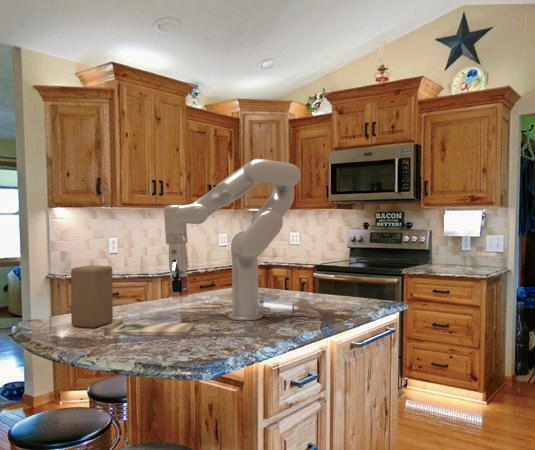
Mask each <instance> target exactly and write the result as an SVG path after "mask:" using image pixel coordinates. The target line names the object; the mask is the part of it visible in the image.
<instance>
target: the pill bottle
mask: <svg viewBox="0 0 535 450" xmlns="http://www.w3.org/2000/svg"><path fill="white" fill-rule="evenodd" d="M176 271H179V270H176ZM178 275H179V274H178ZM188 277H189V276H188V272H186V271H184V272H182V271H181V280H182V292H173V286H172V272H170V275H169V282H170V294H171V295H170V296H171V298H172V299H185V298H188V297H189V296H190V294H189V293H190V292H189V290H190V288H189V278H188Z"/></svg>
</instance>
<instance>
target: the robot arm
mask: <svg viewBox="0 0 535 450" xmlns="http://www.w3.org/2000/svg"><path fill="white" fill-rule="evenodd" d="M301 173H302V172H301V171H300V169H299V167H298V166H297V165H295V164H293V163H290V162H284V161H278V160H272V159H271V160H270V159H264V158H254V159H252V160H250V161H249V162H247V163H246V164H245V165H243V166H241V167H240V168H238V169H237V170H236V171H234V172H233V173H232V174H230V175H229V176H227V177H226V178H225V179H223V180H221V182H219V183H217V185H215V186H214V187H213V188H212V189H210V190H209V191H208V192H206V193H205V194H203V195H202V196H201V197H200V198H198V199H197V200H195V201H194V202H192V203H190V204H169V205H166V206H164V208H163V215H164V216H163V218H164V230H165V231H164V234H165V245H166V246H167V245H168V264H169V265H168V266H169V272H170V273H172V286H173V292H182V280H181V271H182V272H184V271H185V272H186V271H187V270H188V269H189V260H188V259H189V258H188V257H189V256H188V250H187V249H188V248H187V244H188V228H187V225H188V224H190V225H200V224H203V223H205V222H206V221H207V219H208V217H210V216H211V215H213V214H214V213H215V212H217V211H218V210H220V209H222V208H223V207H225V206H227V205H230V204H232V203H234V202H235V201H236V200H238V199H240V198H241V197H242V196H243V195H245V194H246V193H247V192H249V191H251V190H252V189H253V188H254V187H256V186H257V185H259V184H260V183H263V184H267V185H272V193H271V195H270V196H269V197H268V199H267V200H266V201H265V203H264V204H262V206H261V207H260V208H259V209H258V210H257V211H256V212H255V214H253V216H252V217H251V221H250V222H251V224H250V225H249V226H248V227H247V229H245V231H240V232H237V233H236V234H235V235H234V236H233V238H232V240H231V244H230V251H231V253H230V254H231V263H232V264H231V266H232V268H231V269H232V270H231V271H232V273H231V274H232V275H231V276H232V282H231V283H232V287H231V288H232V291H231V292H232V312H230V313H228V315H227V317H228V319H230V320H233V321H240V322H241V321H243V322H244V321H255V320H260V319H262V318H263V313H264V314H271V307H267V306H264V307H263V306H260V305H261V304H260V303H259V262H258V260H259V259H258V258H259V256H261V255H262V253H263V252H264V251H265V250H266V249H268V246H270V244H271V243H272V242H273V241H274V240H275V238H276V237H277V235H278V234H279V233H280V231H281V230H282V228H283V223H284V222H283V221H284V220H283V218H284V217H285V215H286V214H287V212H288V211H289V210H290V208H291V206H292V205H293V203H294V200H295V186H296V185H297V184H299V182H300V180H301V177H302V176H301V175H302V174H301ZM176 270H179V271H176ZM178 274H179V275H178Z"/></svg>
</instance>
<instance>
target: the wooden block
mask: <svg viewBox="0 0 535 450" xmlns="http://www.w3.org/2000/svg"><path fill="white" fill-rule="evenodd" d="M70 277H71V278H70V280H71V281H70V282H71V283H70V285H71V287H70V289H71V290H70V292H71V293H70V296H71V297H70V298H71V300H70V301H71V307H70V308H71V311H70V312H71V315H70V316H71V326H72V327H76V328H88V329H89V328H91V329H95V328H99V327H102V326H104V325H105V326H106V325H109V324H111V323H113V321H114V320H113V315H114V313H113V305H114V304H113V302H114V301H113V267H112V266H111V265H110V266H109V265H85V266H76V267H73V268H71V269H70Z"/></svg>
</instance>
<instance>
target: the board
mask: <svg viewBox="0 0 535 450" xmlns="http://www.w3.org/2000/svg"><path fill="white" fill-rule="evenodd" d="M123 321H124V320H123V319H116V320H114V321H112V322H111V323H109V324H107V326H106V325H105V326H104V329H103V331H104V332H103V334H104V336H173V337H174V336H178V337H179V336H186V337H187V336H188V335H189V334H190V333H191V332H192V330H193V329H194V328H195V326H196V324H195V322H189V323H187V322H175V323H174V322H123Z"/></svg>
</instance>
